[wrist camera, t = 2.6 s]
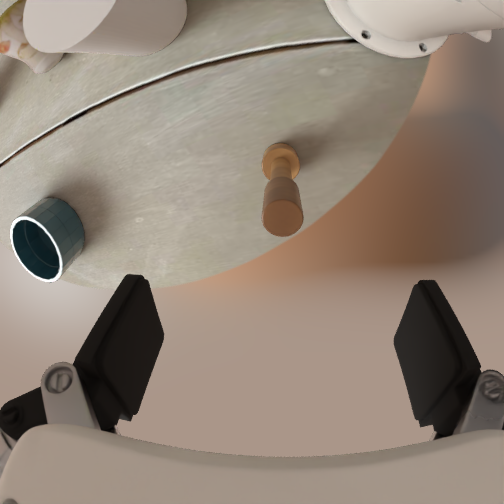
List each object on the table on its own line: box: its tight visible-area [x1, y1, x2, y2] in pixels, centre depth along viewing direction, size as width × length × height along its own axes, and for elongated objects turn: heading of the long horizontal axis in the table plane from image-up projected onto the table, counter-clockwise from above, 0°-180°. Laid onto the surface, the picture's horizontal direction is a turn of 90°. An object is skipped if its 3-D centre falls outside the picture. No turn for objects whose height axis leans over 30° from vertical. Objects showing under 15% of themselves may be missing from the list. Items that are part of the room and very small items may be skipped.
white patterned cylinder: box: [23, 0, 187, 56], centre depth 14 cm, size 8×8×12 cm
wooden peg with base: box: [262, 143, 303, 237], centre depth 21 cm, size 3×3×12 cm
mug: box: [0, 0, 63, 74], centre depth 16 cm, size 8×10×10 cm
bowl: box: [10, 198, 85, 282], centre depth 30 cm, size 9×9×6 cm
